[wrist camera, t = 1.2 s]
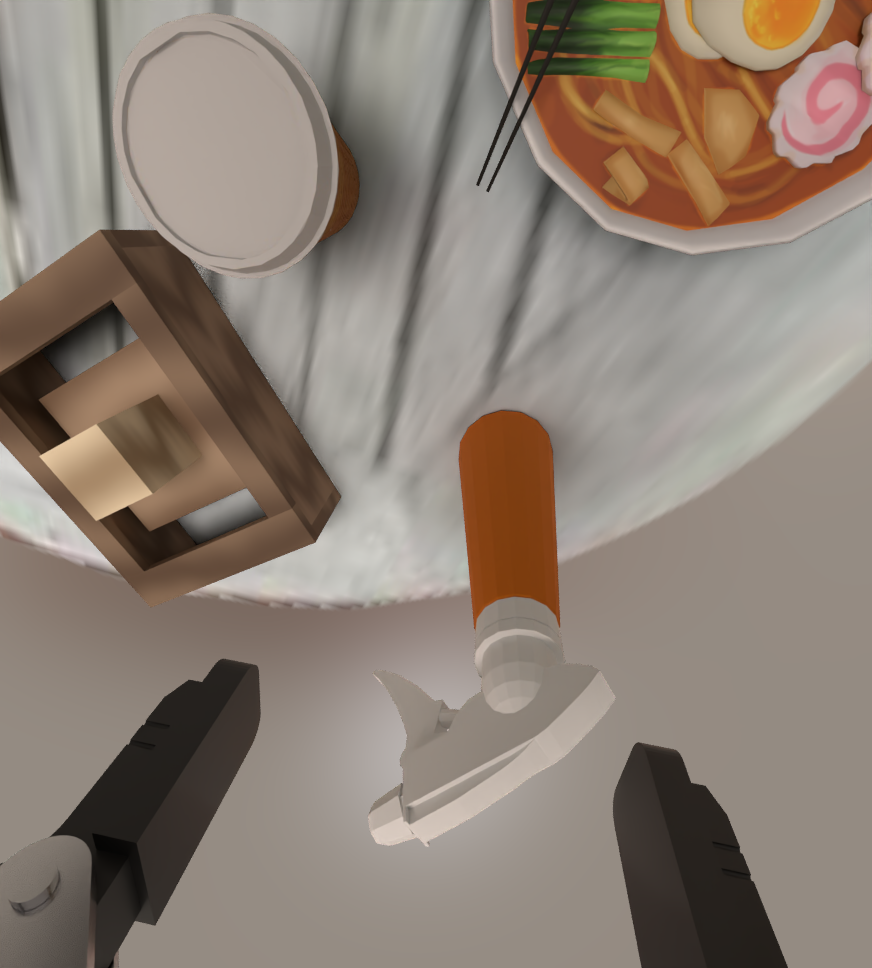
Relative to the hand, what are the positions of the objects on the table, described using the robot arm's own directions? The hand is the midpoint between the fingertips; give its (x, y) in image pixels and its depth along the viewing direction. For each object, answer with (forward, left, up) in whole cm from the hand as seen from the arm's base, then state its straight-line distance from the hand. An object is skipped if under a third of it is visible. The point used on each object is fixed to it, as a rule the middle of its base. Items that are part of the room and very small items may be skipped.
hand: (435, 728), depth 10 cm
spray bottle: (+6, -2, -28) cm, 29 cm away
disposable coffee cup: (-16, -4, -28) cm, 33 cm away
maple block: (-7, -22, -24) cm, 33 cm away
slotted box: (-7, -22, -28) cm, 36 cm away
